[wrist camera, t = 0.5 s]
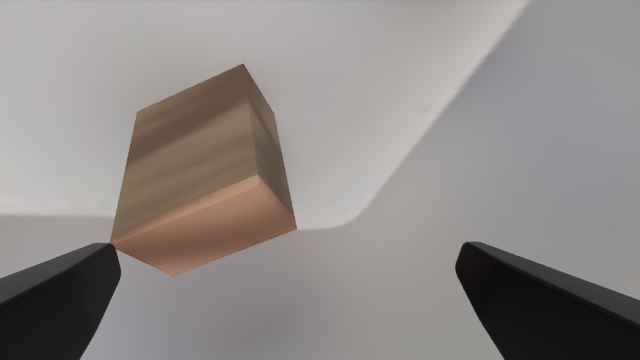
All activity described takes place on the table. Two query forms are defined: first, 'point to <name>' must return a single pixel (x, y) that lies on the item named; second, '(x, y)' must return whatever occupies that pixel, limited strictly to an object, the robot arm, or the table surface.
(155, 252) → the walnut block
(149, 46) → the table surface
